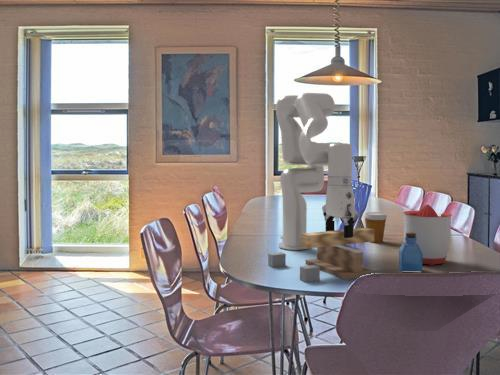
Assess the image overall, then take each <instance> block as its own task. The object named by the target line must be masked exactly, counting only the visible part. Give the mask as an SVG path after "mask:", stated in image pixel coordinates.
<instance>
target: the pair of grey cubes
mask: <svg viewBox="0 0 500 375" xmlns="http://www.w3.org/2000/svg"><path fill="white" fill-rule="evenodd" d="M286 256H287V255H286V253H285V252H282V251H280V252H279V251H278V252H271V253H268V256H267V258H268V262H267V265H268V267H271V268H277V267H285V266H286V265H287V264H286V259H287V257H286ZM320 273H321V270H320V267H319V266H316V265H302V266H301V265H300V266H299V280H300V281H301V282H304V283H311V282H316V281H320V279H321V278H320V277H321V276H320V275H321V274H320Z"/></svg>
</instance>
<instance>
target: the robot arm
mask: <svg viewBox="0 0 500 375" xmlns="http://www.w3.org/2000/svg"><path fill="white" fill-rule="evenodd" d="M335 103H336V102H335V100H334V98H333V97H332V95H331V94H328V93H325V92H323V93H322V92H321V93H320V92H305V93H301V94H300V95H284V96H281V97H279V99H278V100H277V102H276V106H275V114H276V115H275V116H276V120H277V123H278V127H279V129H280V135H281V136H280V137H281V138H280V139H281V149H282V150H281V151H282V152H281V153H282V159H283V162H284V163H285V164H286V165H289V166H308V167H304V168H303V167H298V168H297V167H293V168H287V169H284V170H283V171H282V172H281V173H280V178H279V179H280V188H281V195H282V196H281V197H282V235H280V237H279V238H280V239H281V240H282V242H279V243H278V247H279V248H280V249H282V250H287V251H288V250H290V251H302V250H303V251H304V250H308V248H305V247H302V246H301V234H303V233H307V226H308V225H307V220H308V216H307V211H308V209H307V201H306V199H305V198H304V196H303V194H302V193H310V192H311V193H313V192H314V193H316V192H320V191H321V190H322V189H323V187H324V185H325V173H324V172H325V171H324V167H326V166H327V188H326V195H325V204H324V205H322V207H321V209H322V212H323V213H322V214H323V217H324V221H325V231H335V220H334V219H335V218H337V219H342V220H343V223H344V224H343V230H344V238H352V237H353V229H354V225H355V224H356V222H357V218H358V216H359V211H357V210H356V201H355V192H354V187H353V186H352V184H353V183H352V182H353V180H352V174H353V173H352V171H353V170H352V169H353V167H352V165H353V147H352V145H351V144H350V143H346V142H345V143H341V142H340V143H339V142H338V143H337V142H331V143H330V142H316V141H312V138H314V137H316V136H318V135H320V134H322V133H323V132H325V130H326V129H327V127H328V125H329V122H328V118H327V117H330V116H332V115H333V113H334V112H335V109H336V108H335V107H336V106H335V105H336V104H335ZM295 118H299V119H300V121H301V123H302V125H303V126H301V125H300V124H299V122H298V121H297V120H296V119H295ZM302 127H303V129H302Z"/></svg>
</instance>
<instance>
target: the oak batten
mask: <svg viewBox="0 0 500 375" xmlns="http://www.w3.org/2000/svg"><path fill="white" fill-rule="evenodd" d="M373 241H374V229H371V228H366V227H359V228H353V237H352V238H344V229H337V230H334V231H326V230H325V231H315V232H306V233H303V234H301V246H302V247H305V248H308V249H309V250H310V249H316V248H318V247H328V246H337V245H351V244H352V245H354V244H362V243H372V242H373ZM308 249H307V250H308Z"/></svg>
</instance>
